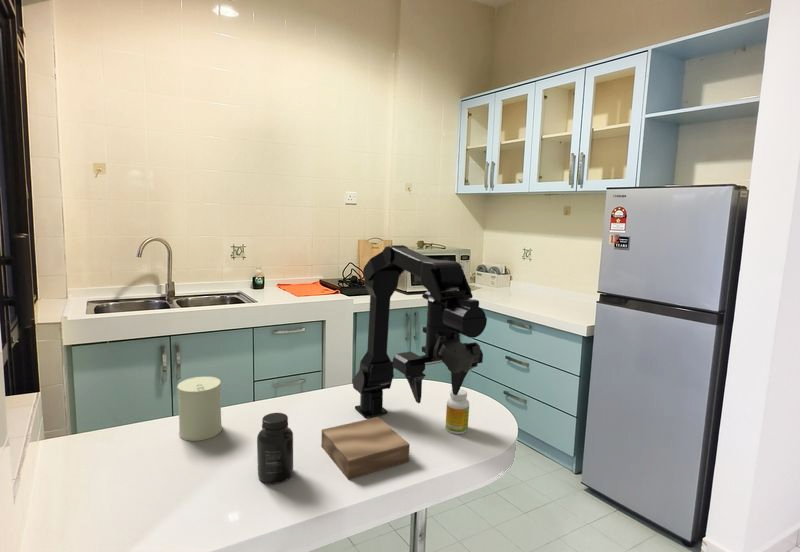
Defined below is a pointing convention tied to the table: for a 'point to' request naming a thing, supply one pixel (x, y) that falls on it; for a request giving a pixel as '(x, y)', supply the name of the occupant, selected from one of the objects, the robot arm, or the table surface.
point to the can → (199, 408)
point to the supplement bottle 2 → (457, 412)
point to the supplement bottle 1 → (275, 449)
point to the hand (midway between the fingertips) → (437, 398)
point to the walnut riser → (364, 447)
